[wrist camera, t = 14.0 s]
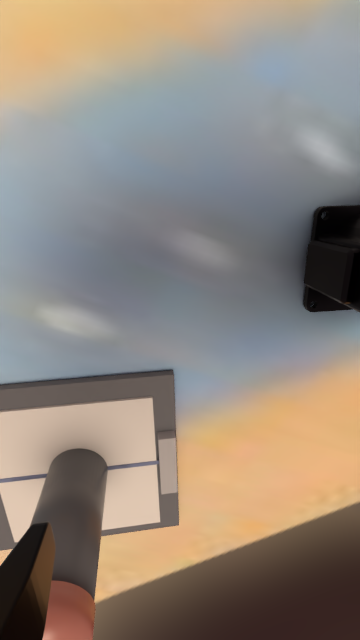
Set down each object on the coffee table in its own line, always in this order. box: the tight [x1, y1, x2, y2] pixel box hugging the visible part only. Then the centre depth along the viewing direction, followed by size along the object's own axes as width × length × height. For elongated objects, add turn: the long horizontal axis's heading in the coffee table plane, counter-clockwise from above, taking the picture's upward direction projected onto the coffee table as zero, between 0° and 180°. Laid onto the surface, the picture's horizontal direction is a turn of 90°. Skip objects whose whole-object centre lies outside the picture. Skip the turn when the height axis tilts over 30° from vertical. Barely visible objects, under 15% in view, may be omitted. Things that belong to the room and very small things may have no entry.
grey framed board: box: [0, 370, 179, 550], centre depth 23 cm, size 14×14×1 cm
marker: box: [30, 448, 108, 640], centre depth 18 cm, size 4×4×10 cm
